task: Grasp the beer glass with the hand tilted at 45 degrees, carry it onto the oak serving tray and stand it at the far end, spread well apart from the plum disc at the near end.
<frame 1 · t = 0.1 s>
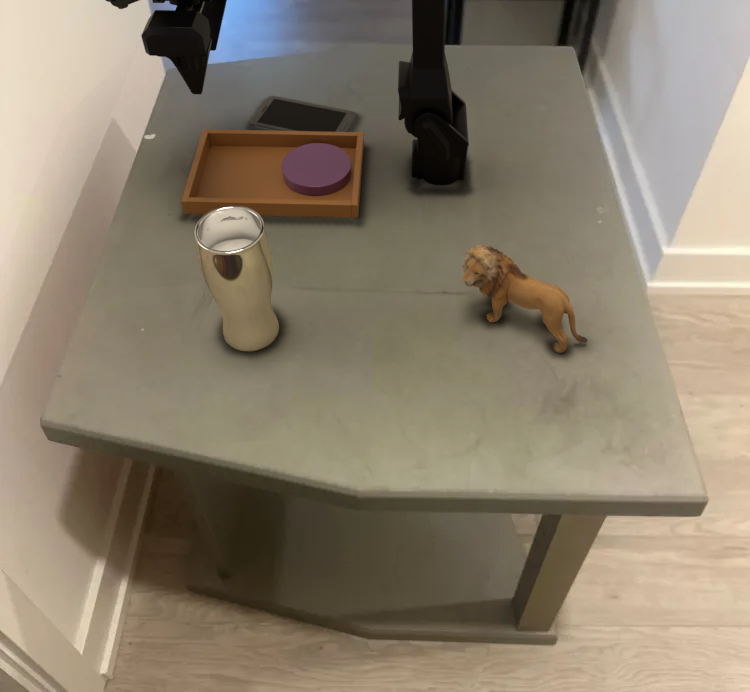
hand: (204, 70, 86), 15 cm above the table, tool pointing down, fingers open, 9 cm apart
cell phone: (303, 123, 105), on the table
tray: (278, 182, 97), on the table
lion figurine: (515, 324, 82), on the table
plum disc: (317, 173, 96), point 1 cm above the table, touching tray
beer glass: (251, 331, 81), on the table
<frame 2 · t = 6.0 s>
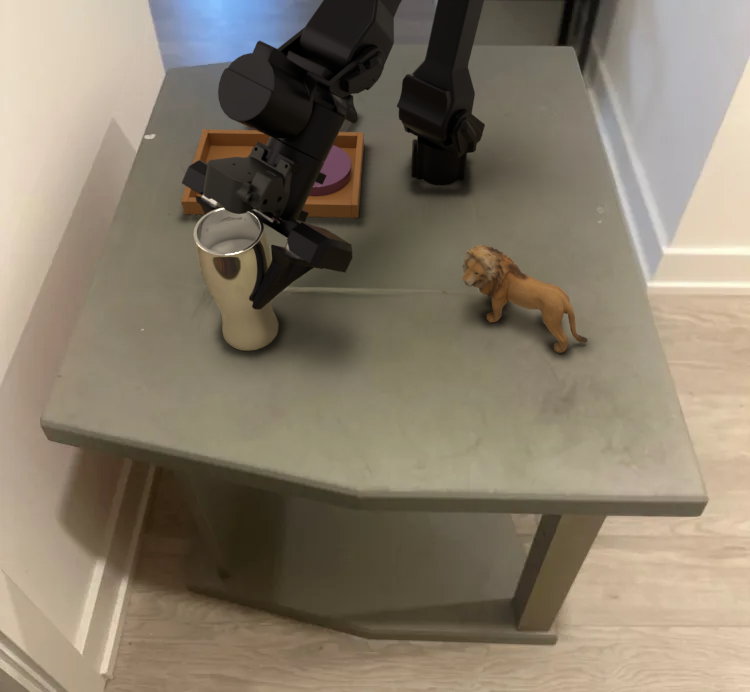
hand: (231, 291, 75), 7 cm above the table, tool tilted 45°, fingers closed on beer glass, 7 cm apart
beer glass: (251, 330, 81), on the table, touching gripper
everything else where it was.
when the fingers open (8 cm above the table, at t = 13.0 s): beer glass stays where it is, resting on tray.
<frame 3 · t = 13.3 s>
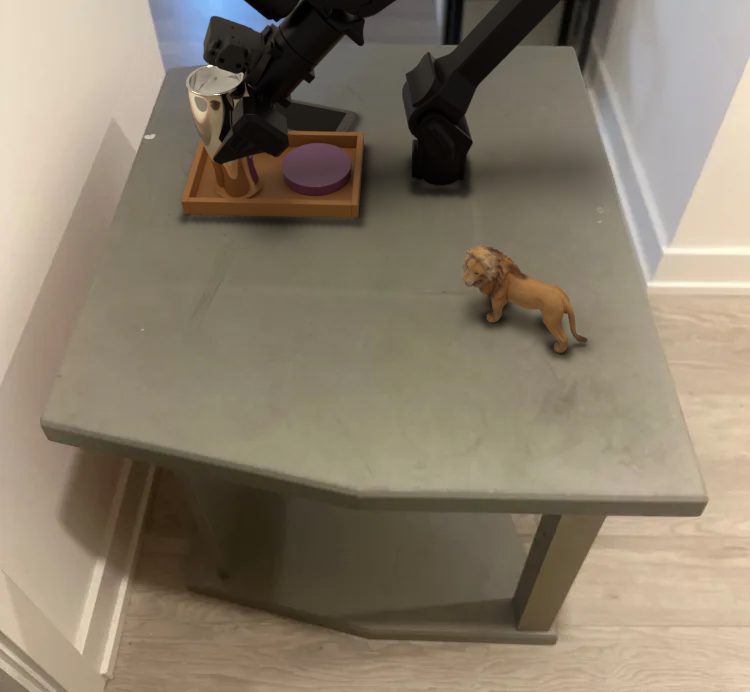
hand: (216, 137, 89), 8 cm above the table, tool tilted 45°, fingers open, 9 cm apart
beer glass: (239, 186, 95), point 1 cm above the table, touching gripper, tray
everything else where it was.
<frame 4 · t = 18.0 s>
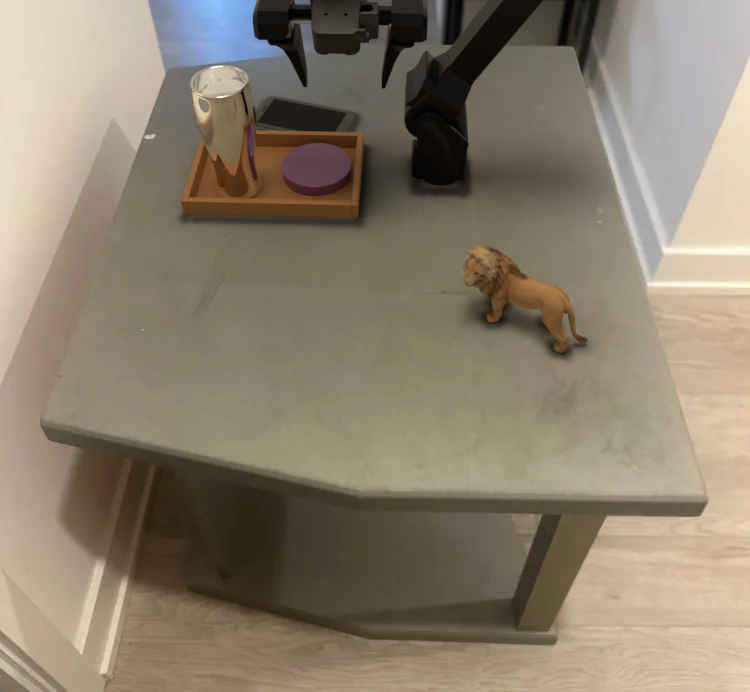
hand: (344, 86, 87), 13 cm above the table, tool pointing down, fingers open, 9 cm apart
beer glass: (239, 187, 95), point 1 cm above the table, touching tray
everything else where it was.
at the end: beer glass inside the target area in the tray (0.2 cm from its centre), point 0.6 cm above the tray's base; beer glass tilted 0°; plum disc moved 0.0 cm from its start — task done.
